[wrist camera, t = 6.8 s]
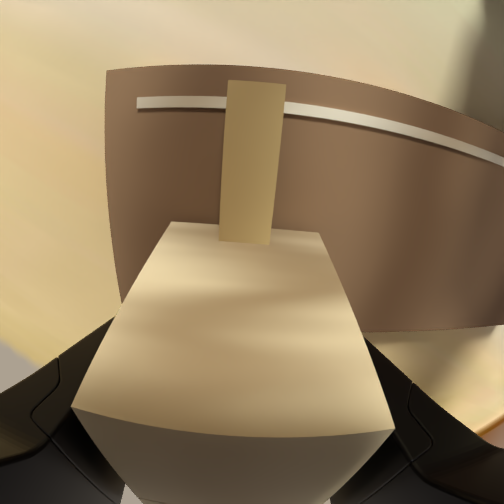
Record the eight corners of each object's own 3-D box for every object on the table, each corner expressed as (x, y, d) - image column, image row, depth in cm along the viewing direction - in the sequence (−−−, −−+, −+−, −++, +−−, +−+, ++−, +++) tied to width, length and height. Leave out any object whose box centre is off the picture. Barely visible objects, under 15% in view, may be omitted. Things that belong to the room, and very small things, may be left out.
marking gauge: (320, 97, 9) (527, 105, 1) (286, 323, 13) (306, 518, 5) (191, 86, 8) (-11, 60, 1) (189, 317, 12) (147, 507, 5)
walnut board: (555, 167, 9) (587, 183, 7) (512, 295, 13) (536, 321, 11) (138, 75, 9) (105, 70, 6) (143, 278, 12) (123, 317, 10)
